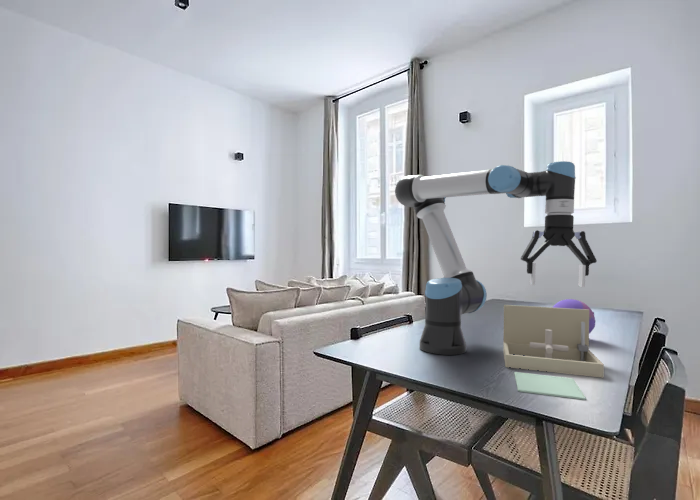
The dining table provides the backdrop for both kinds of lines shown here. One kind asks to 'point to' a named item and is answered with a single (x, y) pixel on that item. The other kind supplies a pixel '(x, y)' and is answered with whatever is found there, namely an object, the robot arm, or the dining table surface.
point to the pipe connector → (548, 345)
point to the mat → (548, 385)
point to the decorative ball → (577, 305)
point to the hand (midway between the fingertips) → (556, 285)
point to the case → (566, 331)
